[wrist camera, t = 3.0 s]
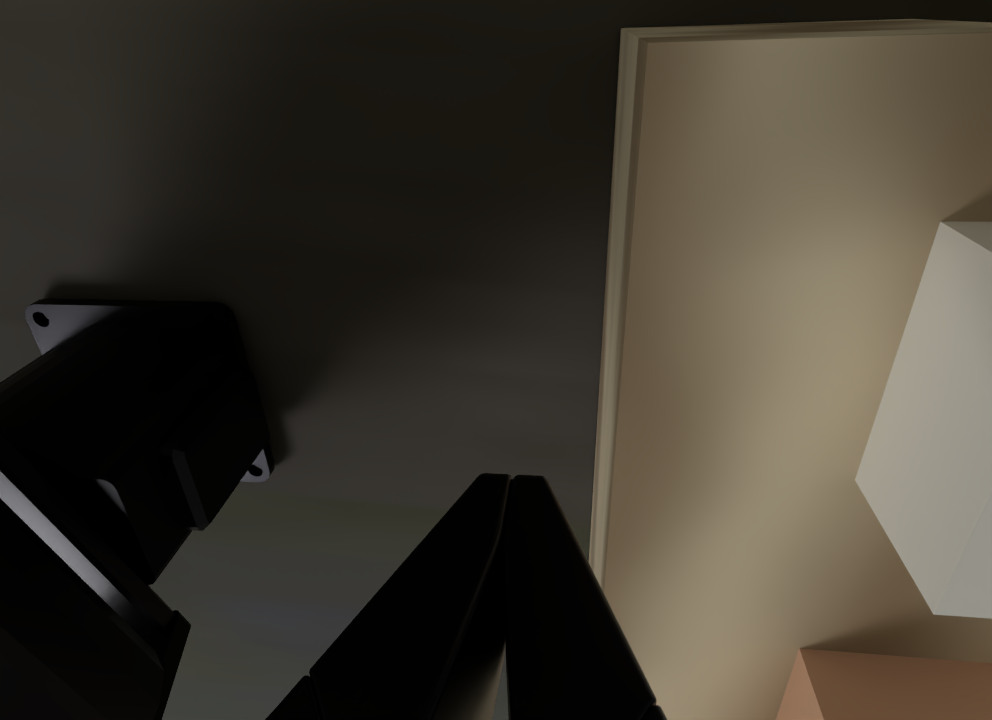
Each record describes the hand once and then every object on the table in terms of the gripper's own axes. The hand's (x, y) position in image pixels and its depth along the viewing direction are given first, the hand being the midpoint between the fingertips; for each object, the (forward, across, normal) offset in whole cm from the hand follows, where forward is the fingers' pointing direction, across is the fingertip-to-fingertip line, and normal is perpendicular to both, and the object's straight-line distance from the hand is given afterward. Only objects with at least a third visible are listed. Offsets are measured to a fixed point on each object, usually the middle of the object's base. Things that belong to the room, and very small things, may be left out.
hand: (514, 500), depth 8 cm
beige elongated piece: (+10, -7, +5) cm, 13 cm away
